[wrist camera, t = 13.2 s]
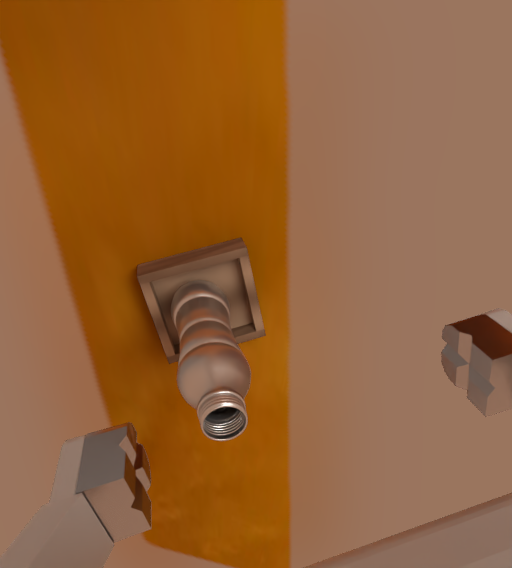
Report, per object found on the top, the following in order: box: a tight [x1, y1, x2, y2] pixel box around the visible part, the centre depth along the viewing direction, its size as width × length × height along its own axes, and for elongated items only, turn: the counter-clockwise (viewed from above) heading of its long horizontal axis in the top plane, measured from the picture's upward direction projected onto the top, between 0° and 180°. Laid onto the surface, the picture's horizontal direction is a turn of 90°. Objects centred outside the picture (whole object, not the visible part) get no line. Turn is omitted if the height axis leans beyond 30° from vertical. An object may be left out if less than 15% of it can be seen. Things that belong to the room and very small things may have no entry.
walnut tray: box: [137, 238, 266, 364], centre depth 49 cm, size 12×12×3 cm
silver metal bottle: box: [171, 280, 251, 441], centre depth 41 cm, size 6×7×20 cm
